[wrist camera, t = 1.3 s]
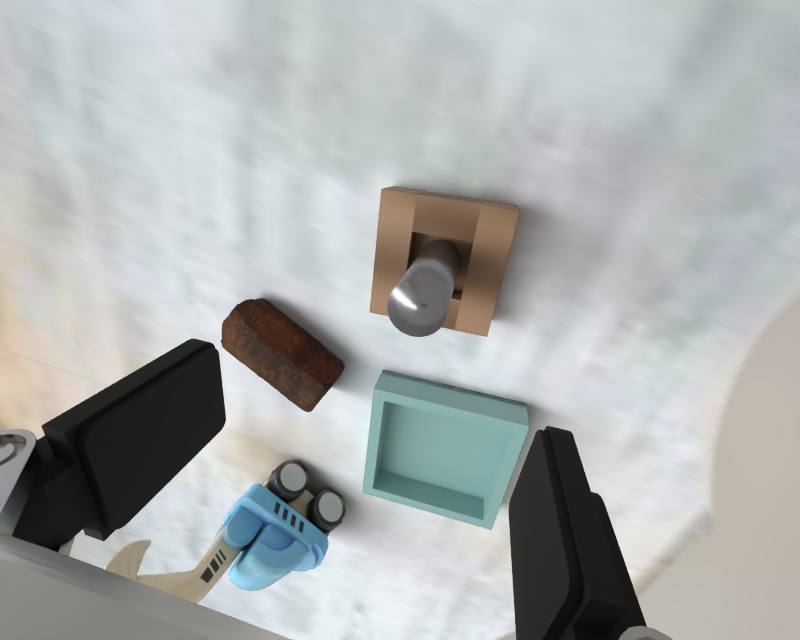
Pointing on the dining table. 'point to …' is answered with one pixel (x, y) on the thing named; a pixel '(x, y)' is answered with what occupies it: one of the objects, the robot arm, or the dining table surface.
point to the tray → (442, 447)
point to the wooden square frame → (457, 223)
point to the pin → (425, 290)
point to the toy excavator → (252, 538)
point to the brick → (280, 352)
